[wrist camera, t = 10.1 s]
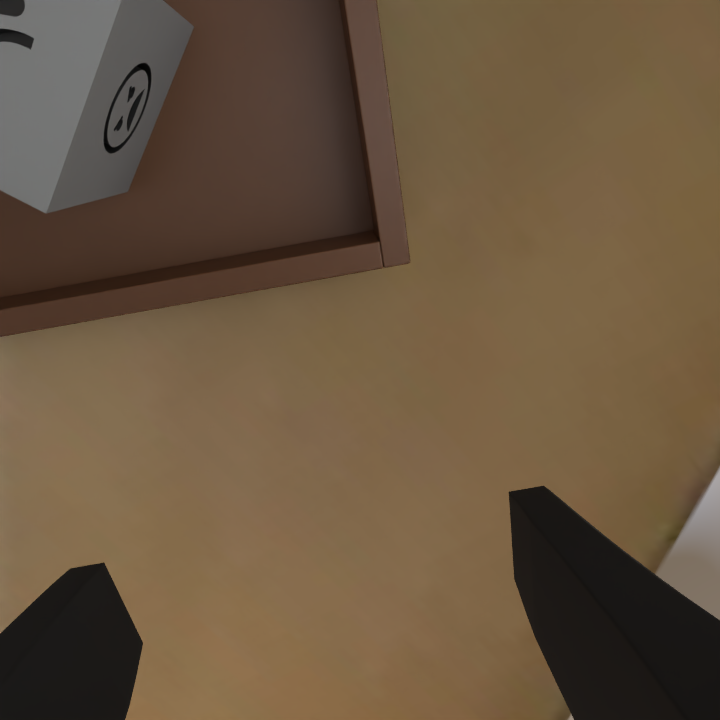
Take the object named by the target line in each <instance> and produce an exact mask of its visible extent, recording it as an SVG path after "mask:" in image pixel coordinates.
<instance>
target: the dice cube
mask: <svg viewBox="0 0 720 720" xmlns="http://www.w3.org/2000/svg"><path fill="white" fill-rule="evenodd" d="M193 28H194V26H193V25H192V24H190V23H189V22H188V21H187V20H186V19H185V18H183V17H182V16H181V15H180V14H179V13H177V12H176V11H175V10H174V9H173V8H172V7H170V6H169V5H168V4H167V3H166V2H164V1H163V0H0V190H1V191H3V192H5V193H7V194H9V195H11V196H13V197H15V198H17V199H19V200H21V201H22V202H24V203H26V204H28V205H30V206H32V207H34V208H36V209H38V210H40V211H42V212H44V213H46V214H47V213H50V212H54V211H58V210H62V209H65V208H69V207H73V206H77V205H80V204H84V203H88V202H92V201H95V200H99V199H103V198H107V197H110V196H114V195H118V194H121V193H125V192H128V190H129V188H130V185H131V183H132V180H133V178H134V175H135V173H136V170H137V168H138V165H139V163H140V160H141V158H142V155H143V153H144V150H145V148H146V145H147V143H148V140H149V138H150V135H151V133H152V130H153V128H154V125H155V123H156V120H157V118H158V115H159V113H160V110H161V108H162V105H163V103H164V100H165V98H166V95H167V93H168V91H169V88H170V86H171V83H172V81H173V78H174V76H175V73H176V71H177V68H178V66H179V63H180V61H181V58H182V56H183V53H184V51H185V48H186V46H187V43H188V41H189V38H190V36H191V33H192V31H193Z"/></svg>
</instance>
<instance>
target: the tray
mask: <svg viewBox="0 0 720 720" xmlns="http://www.w3.org/2000/svg"><path fill="white" fill-rule="evenodd" d="M163 1H164V2H166V3H167V4H168V5H169V6H170V7H172V8H173V9H174V10H175V11H176V12H177V13H179V14H180V15H181V16H182V17H183V18H185V19H186V20H187V21H188V22H189V23H190V24H192V25H193V26H194V28H193V31H192V33H191V36H190V38H189V41H188V43H187V46H186V48H185V51H184V53H183V56H182V58H181V61H180V63H179V66H178V68H177V71H176V73H175V76H174V78H173V81H172V83H171V86H170V88H169V91H168V93H167V95H166V98H165V100H164V103H163V105H162V108H161V110H160V113H159V115H158V118H157V120H156V123H155V125H154V128H153V130H152V133H151V135H150V138H149V140H148V143H147V145H146V148H145V150H144V153H143V155H142V158H141V160H140V163H139V165H138V168H137V170H136V173H135V175H134V178H133V180H132V183H131V185H130V188H129V190H128V192H125V193H121V194H118V195H114V196H110V197H107V198H103V199H99V200H95V201H92V202H88V203H84V204H80V205H77V206H73V207H69V208H65V209H62V210H58V211H54V212H50V213H47V214H46V213H44V212H42V211H40V210H38V209H36V208H34V207H32V206H30V205H28V204H26V203H24V202H22V201H21V200H19V199H17V198H15V197H13V196H11V195H9V194H7V193H5V192H3V191H1V190H0V337H2V336H8V335H13V334H19V333H25V332H30V331H36V330H41V329H47V328H52V327H58V326H63V325H69V324H75V323H80V322H86V321H91V320H97V319H102V318H108V317H113V316H119V315H125V314H130V313H136V312H141V311H147V310H152V309H158V308H163V307H169V306H175V305H180V304H186V303H191V302H197V301H202V300H208V299H213V298H219V297H225V296H230V295H236V294H241V293H247V292H252V291H258V290H263V289H269V288H275V287H280V286H286V285H291V284H297V283H302V282H308V281H314V280H319V279H325V278H330V277H336V276H341V275H347V274H352V273H358V272H364V271H369V270H375V269H380V268H383V266H384V267H385V268H386V267H392V266H397V265H403V264H408V263H410V255H409V247H408V240H407V232H406V224H405V217H404V209H403V201H402V193H401V186H400V178H399V170H398V162H397V155H396V147H395V139H394V131H393V124H392V116H391V108H390V100H389V93H388V85H387V77H386V69H385V62H384V54H383V46H382V39H381V31H380V23H379V15H378V8H377V0H163Z"/></svg>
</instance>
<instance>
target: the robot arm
mask: <svg viewBox="0 0 720 720" xmlns="http://www.w3.org/2000/svg"><path fill="white" fill-rule="evenodd" d="M509 501H510V517H511V533H512V549H513V565H514V579H515V582H516V585H517V588H518V591H519V593H520V596H521V599H522V602H523V605H524V608H525V611H526V613H527V616H528V619H529V622H530V624H531V627H532V630H533V633H534V636H535V638H536V640H537V642H538V644H539V647H540V649H541V651H542V653H543V655H544V657H545V659H546V661H547V664H548V666H549V668H550V670H551V672H552V674H553V676H554V678H555V681H556V683H557V685H558V687H559V689H560V691H561V693H562V695H563V697H564V699H565V701H566V704H567V706H568V708H569V710H570V712H571V714H572V716H573V718H574V720H720V620H718V619H717V618H715V617H714V616H713V615H711V614H710V613H708V612H707V611H705V610H704V609H702V608H701V607H700V606H698V605H697V604H695V603H694V602H692V601H691V600H689V599H688V598H687V597H685V596H684V595H682V594H681V593H680V592H678V591H677V590H675V589H674V588H673V587H671V586H670V585H669V584H667V583H666V582H664V581H663V580H662V579H660V578H659V577H658V576H656V575H655V574H654V573H652V572H651V571H650V570H648V569H647V568H646V567H644V566H643V565H642V564H641V563H639V562H638V561H637V560H635V559H634V558H633V557H631V556H630V555H629V554H627V553H626V552H625V551H623V550H622V549H621V548H620V547H618V546H617V545H616V544H615V543H613V542H612V541H611V540H609V539H608V538H607V537H606V536H604V535H603V534H602V533H601V532H600V531H598V530H597V529H596V528H595V527H593V526H592V525H591V524H590V523H588V522H587V521H586V520H585V519H584V518H582V517H581V516H580V515H579V514H578V513H576V512H575V511H574V510H573V509H572V508H570V507H569V506H568V505H567V504H566V503H564V502H563V501H562V500H561V499H560V498H558V497H557V496H556V495H555V494H554V493H552V492H551V491H550V490H549V489H547V488H546V487H545V486H540V487H534V488H528V489H522V490H517V491H511V492H509ZM142 645H143V642H142V640H141V638H140V636H139V634H138V632H137V630H136V628H135V626H134V623H133V621H132V619H131V617H130V615H129V613H128V611H127V609H126V607H125V605H124V603H123V601H122V599H121V597H120V595H119V592H118V590H117V588H116V586H115V584H114V582H113V580H112V578H111V576H110V574H109V572H108V570H107V568H106V566H105V563H100V564H94V565H88V566H82V567H77V568H71V569H69V570H68V571H67V572H66V573H65V574H64V575H62V576H61V577H60V578H59V579H58V580H57V581H56V582H54V583H53V584H52V585H51V586H50V587H49V588H48V589H47V590H46V591H45V592H44V593H42V594H41V595H40V596H39V597H38V598H37V599H36V600H35V601H34V602H33V603H32V604H31V605H30V606H29V607H28V608H27V609H26V610H25V611H24V612H22V613H21V614H20V615H19V616H18V617H17V618H16V619H15V620H14V621H13V622H12V623H11V624H10V625H9V626H8V627H7V628H6V629H5V630H4V631H3V632H2V633H1V634H0V720H125V718H126V715H127V712H128V709H129V705H130V701H131V697H132V692H133V688H134V684H135V680H136V675H137V670H138V665H139V660H140V655H141V650H142Z"/></svg>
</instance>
